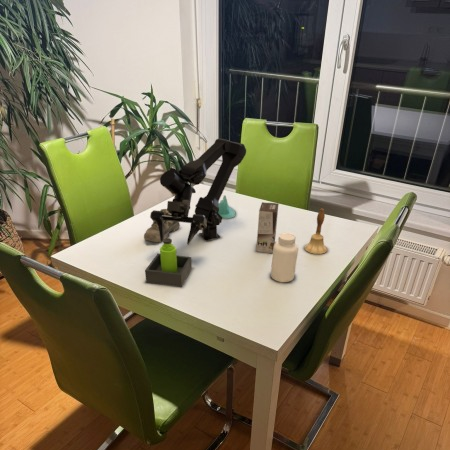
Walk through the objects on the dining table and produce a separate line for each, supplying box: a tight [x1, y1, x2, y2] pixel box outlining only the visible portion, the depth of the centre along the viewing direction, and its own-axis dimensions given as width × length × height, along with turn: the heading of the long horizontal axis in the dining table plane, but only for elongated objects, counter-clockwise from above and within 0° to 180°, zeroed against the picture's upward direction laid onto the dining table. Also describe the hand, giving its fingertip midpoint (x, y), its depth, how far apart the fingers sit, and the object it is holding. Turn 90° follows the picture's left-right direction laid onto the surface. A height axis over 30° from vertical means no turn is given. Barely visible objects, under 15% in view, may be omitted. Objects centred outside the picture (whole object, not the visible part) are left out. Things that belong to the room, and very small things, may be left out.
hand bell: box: [304, 207, 328, 255], centre depth 151 cm, size 8×8×16 cm
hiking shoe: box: [143, 208, 181, 243], centre depth 162 cm, size 9×21×12 cm
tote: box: [144, 252, 193, 288], centre depth 137 cm, size 12×12×4 cm
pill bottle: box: [270, 232, 299, 283], centre depth 134 cm, size 8×8×15 cm
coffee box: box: [255, 201, 279, 254], centre depth 152 cm, size 9×6×16 cm
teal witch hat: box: [218, 195, 236, 220], centre depth 183 cm, size 12×20×9 cm, turn 29°
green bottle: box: [159, 237, 178, 273], centre depth 134 cm, size 5×5×12 cm
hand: (174, 243), depth 139 cm, fingers open, 9 cm apart
